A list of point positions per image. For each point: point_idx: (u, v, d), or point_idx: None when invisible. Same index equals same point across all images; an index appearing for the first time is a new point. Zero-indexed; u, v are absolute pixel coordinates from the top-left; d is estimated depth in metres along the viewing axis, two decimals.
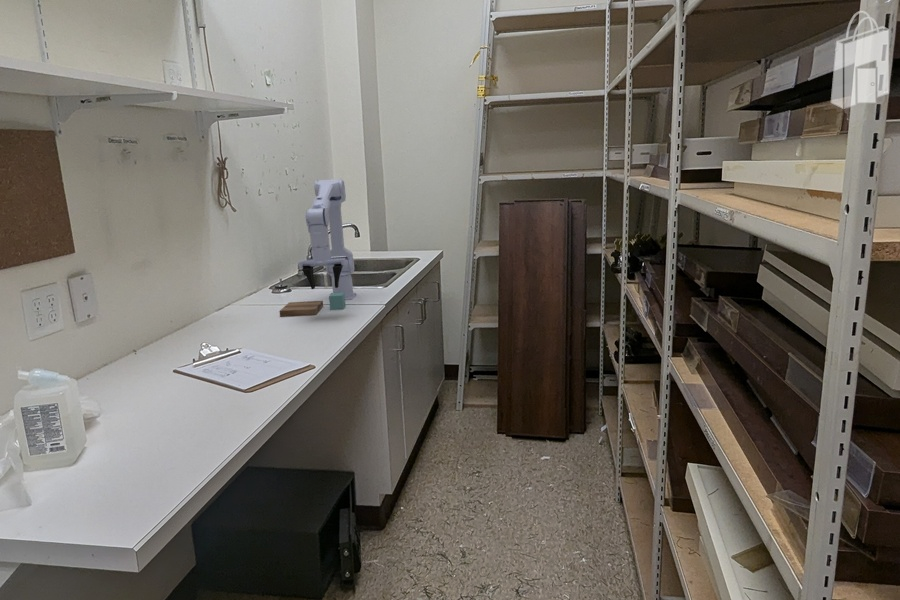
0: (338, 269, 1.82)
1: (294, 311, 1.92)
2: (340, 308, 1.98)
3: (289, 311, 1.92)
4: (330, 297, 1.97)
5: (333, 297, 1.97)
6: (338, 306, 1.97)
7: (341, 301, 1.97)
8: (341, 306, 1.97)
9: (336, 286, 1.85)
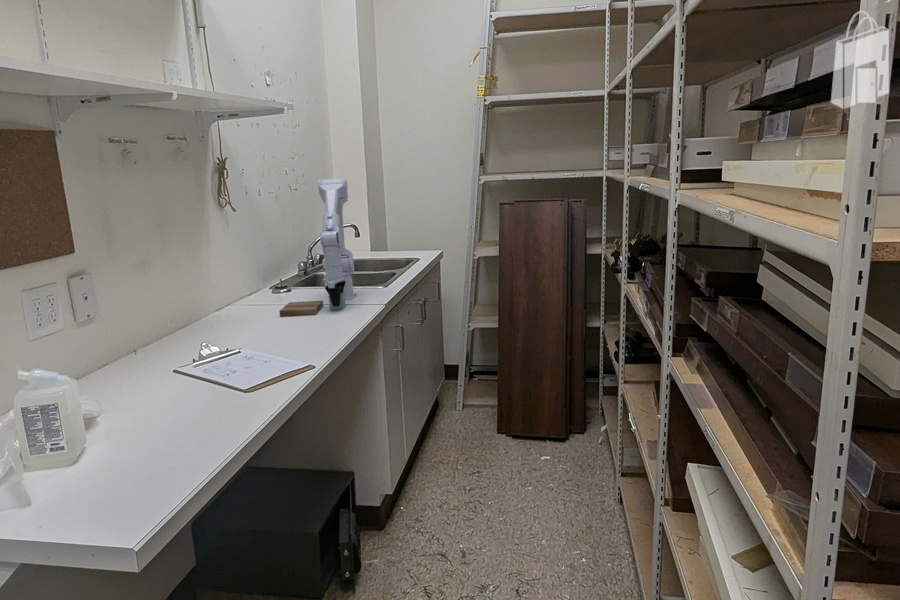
0: None
1: (294, 311, 1.92)
2: (340, 308, 1.98)
3: (289, 311, 1.92)
4: None
5: None
6: (338, 306, 1.97)
7: (341, 301, 1.97)
8: (340, 306, 1.97)
9: None
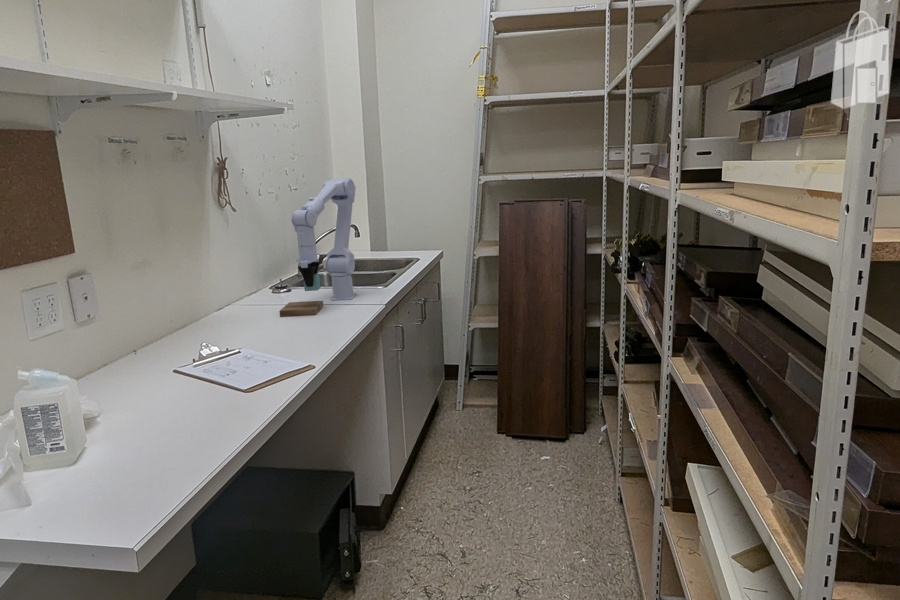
0: None
1: (294, 311, 1.92)
2: (314, 289, 1.94)
3: (289, 311, 1.92)
4: None
5: None
6: (312, 287, 1.94)
7: (315, 282, 1.94)
8: (315, 287, 1.94)
9: (306, 285, 1.94)
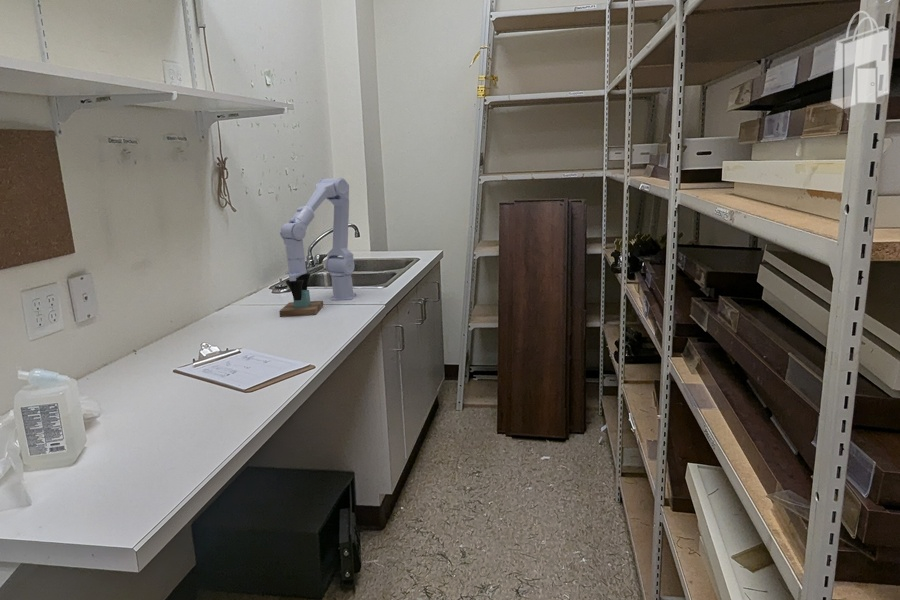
0: None
1: (294, 311, 1.92)
2: (304, 305, 1.95)
3: (289, 311, 1.92)
4: None
5: None
6: (302, 303, 1.95)
7: (305, 298, 1.95)
8: (305, 304, 1.95)
9: (294, 299, 1.93)
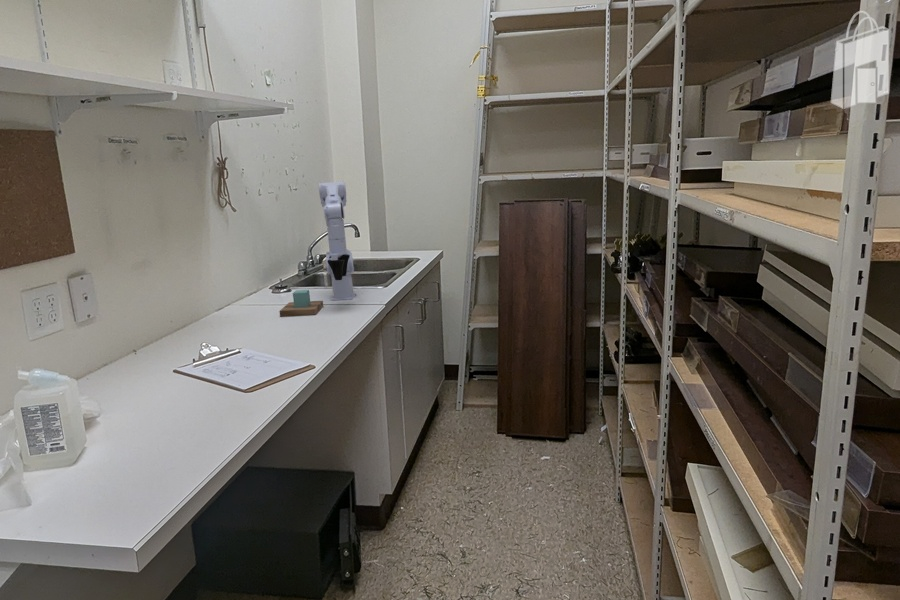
0: (328, 263, 1.92)
1: (294, 311, 1.92)
2: (304, 305, 1.95)
3: (289, 311, 1.92)
4: (294, 294, 1.94)
5: (297, 294, 1.94)
6: (302, 303, 1.95)
7: (305, 298, 1.95)
8: (305, 304, 1.95)
9: (334, 278, 1.94)
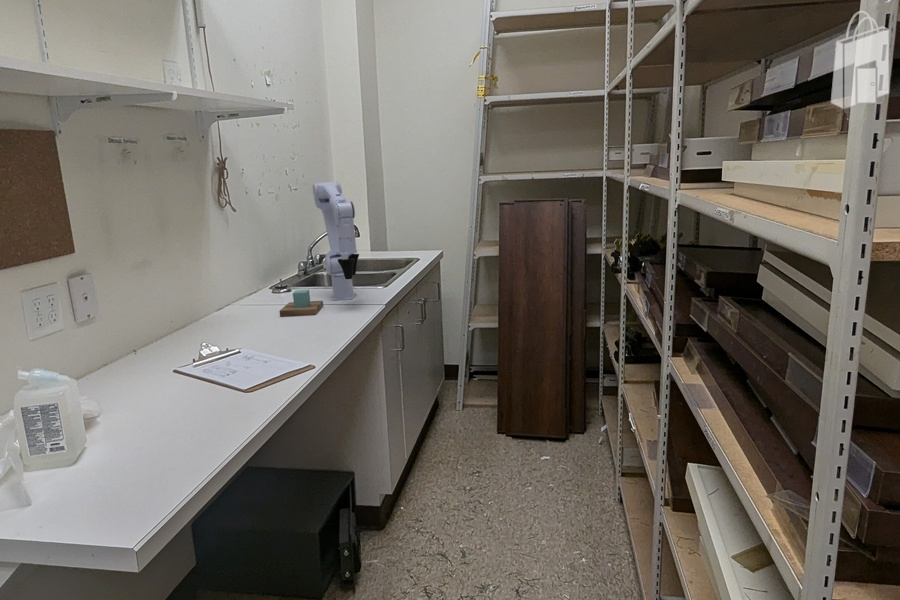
0: None
1: (294, 311, 1.92)
2: (304, 305, 1.95)
3: (289, 311, 1.92)
4: (294, 294, 1.94)
5: (297, 294, 1.94)
6: (302, 303, 1.95)
7: (305, 298, 1.95)
8: (305, 304, 1.95)
9: (345, 277, 1.95)
